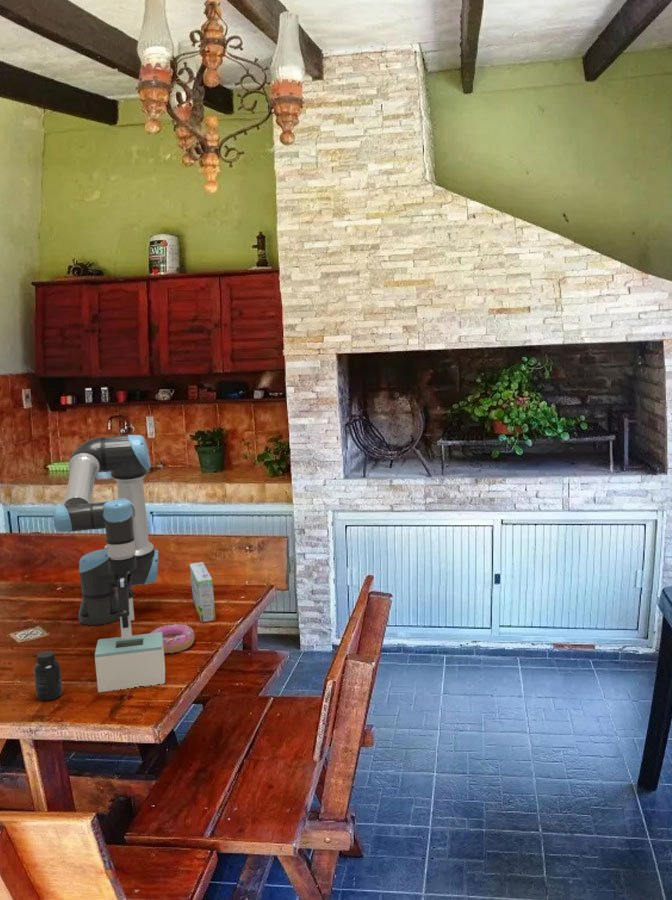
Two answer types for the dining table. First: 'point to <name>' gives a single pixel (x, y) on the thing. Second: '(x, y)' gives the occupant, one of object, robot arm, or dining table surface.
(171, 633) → the donut
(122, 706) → the dining table surface
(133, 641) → the box
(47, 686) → the supplement bottle
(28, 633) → the dining table surface
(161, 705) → the dining table surface
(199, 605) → the snack box
